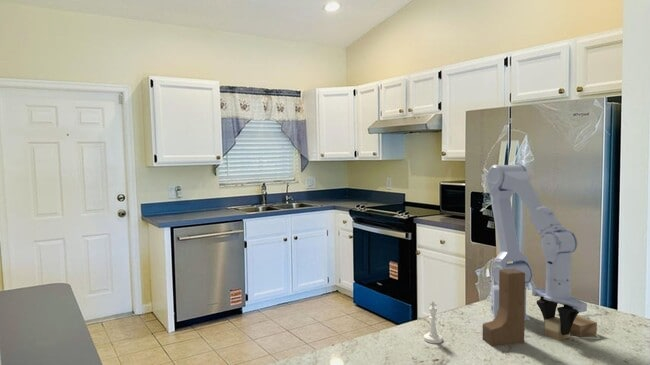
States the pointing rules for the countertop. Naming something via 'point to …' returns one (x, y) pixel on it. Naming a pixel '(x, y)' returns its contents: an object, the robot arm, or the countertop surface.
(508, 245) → the robot arm
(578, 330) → the walnut slab
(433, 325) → the chess piece
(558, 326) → the maple cube
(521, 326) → the wooden block
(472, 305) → the countertop surface
